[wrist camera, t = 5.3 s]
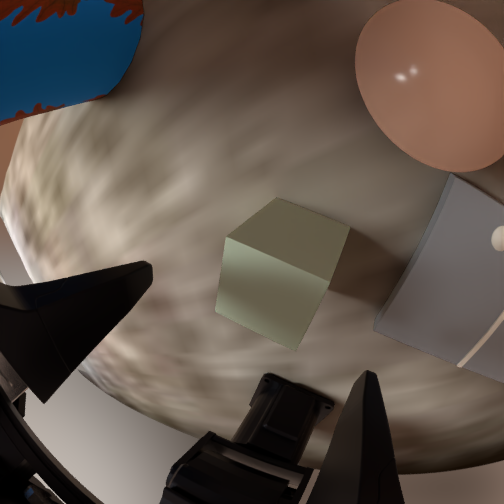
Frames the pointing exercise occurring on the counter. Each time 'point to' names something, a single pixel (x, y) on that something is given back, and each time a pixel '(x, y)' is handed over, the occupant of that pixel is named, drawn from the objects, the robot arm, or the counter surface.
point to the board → (454, 284)
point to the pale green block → (279, 270)
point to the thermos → (63, 52)
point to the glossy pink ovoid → (434, 83)
